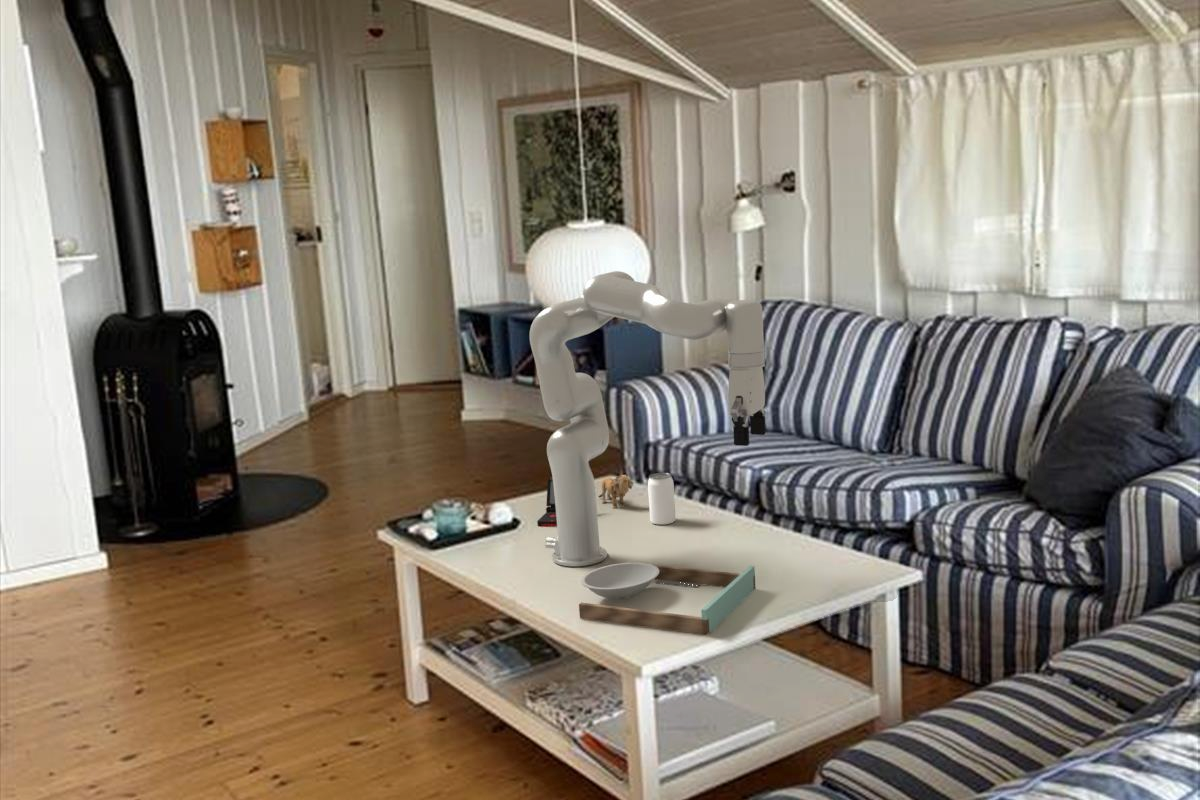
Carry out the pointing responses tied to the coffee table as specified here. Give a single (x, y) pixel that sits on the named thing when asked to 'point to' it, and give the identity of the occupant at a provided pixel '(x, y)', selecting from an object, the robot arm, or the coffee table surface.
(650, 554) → the coffee table surface
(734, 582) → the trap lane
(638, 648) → the coffee table surface
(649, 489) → the can
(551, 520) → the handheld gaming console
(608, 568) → the dish
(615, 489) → the lion figurine
